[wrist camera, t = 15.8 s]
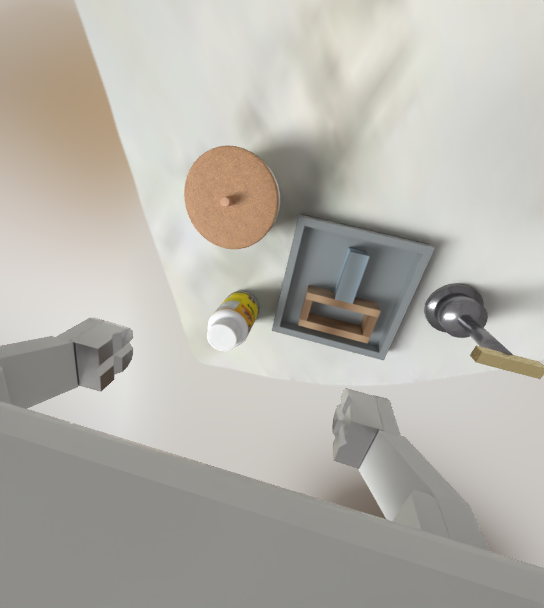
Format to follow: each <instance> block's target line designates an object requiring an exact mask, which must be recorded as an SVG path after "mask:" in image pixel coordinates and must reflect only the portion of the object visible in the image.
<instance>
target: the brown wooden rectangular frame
mask: <svg viewBox="0 0 544 608" xmlns="http://www.w3.org/2000/svg"><path fill="white" fill-rule="evenodd" d="M369 257H370V256H369V255H368V253H367V252H366V251H363V250H359V249H355V248H351V247H348V250H347V253H346V256H345V259H344V263H343V266H342V269H341V272H340V275H339V278H338V281H337V284H336V287H335V290H334V291H330V290H326V289H322V288H318V287H314V286H310V285H308V288H307V292H306V295H305V299H304V303H303V306H302V310H301V313H300V317H299V323H298V325H299V326H303V327H306V328H310V329H314V330H318V331H322V332H325V333H329V334H333V335H337V336H341V337H344V338H348V339H352V340H356V341H360V342H363V343H368V341H369V339H370V336H371V334H372V331H373V329H374V326H375V324H376V322H377V319H378V317H379V314H380V312H381V310H380V308H379V306H378V304H377V302H374V301H370V300H366V299H362V298H358V297H355V296H356V293H357V290H358V287H359V285H360V282H361V279H362V276H363V273H364V271H365V268H366V265H367V262H368V260H369ZM312 301H315V302H319V303H323V304H327V305H331V306H335V307H339V308H342V309H346V310H350V311H354V312H358V313H362V314H365V315H364V317H363V320H362V323H361V325H360V326H359V325H355V324H351V323H348V322H344V321H340V320H336V319H332V318H328V317H324V316H321V315H317V314H313V313H309V311H310V308H311V304H312Z"/></svg>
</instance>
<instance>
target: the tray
mask: <svg viewBox="0 0 544 608" xmlns="http://www.w3.org/2000/svg"><path fill="white" fill-rule="evenodd" d="M348 247H351V248H355V249H359V250H363V251H366V252H367V253H368V255H369V256H370V257H369V260H368V262H367V265H366V268H365V271H364V273H363V276H362V279H361V282H360V285H359V287H358V290H357V293H356V296H355V297H358V298H362V299H366V300H370V301H374V302H377V304H378V306H379V308H380V310H381V312H380V314H379V317H378V319H377V322H376V324H375V326H374V329H373V331H372V334H371V336H370V339H369V341H368V343H363V342H360V341H356V340H352V339H348V338H344V337H341V336H337V335H333V334H329V333H325V332H322V331H318V330H314V329H310V328H306V327H303V326H299V325H298V323H299V317H300V313H301V310H302V306H303V303H304V299H305V295H306V292H307V288H308V285H310V286H314V287H318V288H322V289H326V290H330V291H334V290H335V287H336V284H337V281H338V278H339V275H340V272H341V269H342V266H343V263H344V259H345V256H346V253H347V250H348ZM434 249H435V248H434V247H432V246H431V245H429V244H426V243H422V242H418V241H413V240H409V239H405V238H401V237H396V236H392V235H388V234H383V233H379V232H375V231H371V230H366V229H362V228H358V227H353V226H349V225H345V224H341V223H336V222H332V221H328V220H323V219H319V218H315V217H311V216H306V215H302V214H300V215H299V217H298V221H297V225H296V230H295V234H294V238H293V242H292V247H291V251H290V255H289V260H288V264H287V268H286V272H285V277H284V281H283V285H282V289H281V294H280V298H279V302H278V307H277V311H276V315H275V319H274V324H273V328H272V331H275V332H279V333H283V334H286V335H290V336H294V337H298V338H301V339H305V340H309V341H313V342H316V343H320V344H324V345H328V346H331V347H335V348H339V349H343V350H347V351H350V352H354V353H358V354H362V355H365V356H369V357H373V358H377V359H380V360H384V359H385V357H386V354H387V352H388V350H389V348H390V346H391V343H392V341H393V339H394V337H395V335H396V332H397V330H398V328H399V326H400V324H401V321H402V319H403V317H404V315H405V313H406V310H407V308H408V306H409V304H410V302H411V299H412V297H413V295H414V293H415V291H416V288H417V286H418V284H419V282H420V280H421V277H422V275H423V273H424V271H425V269H426V267H427V264H428V262H429V260H430V258H431V256H432V253H433V251H434ZM309 313H313V314H317V315H321V316H324V317H328V318H332V319H336V320H340V321H344V322H348V323H351V324H355V325H359V326H360V325H361V323H362V320H363V317H364V315H365V314H362V313H358V312H354V311H350V310H346V309H342V308H339V307H335V306H331V305H327V304H323V303H319V302H315V301H312V304H311V308H310V311H309Z"/></svg>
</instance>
